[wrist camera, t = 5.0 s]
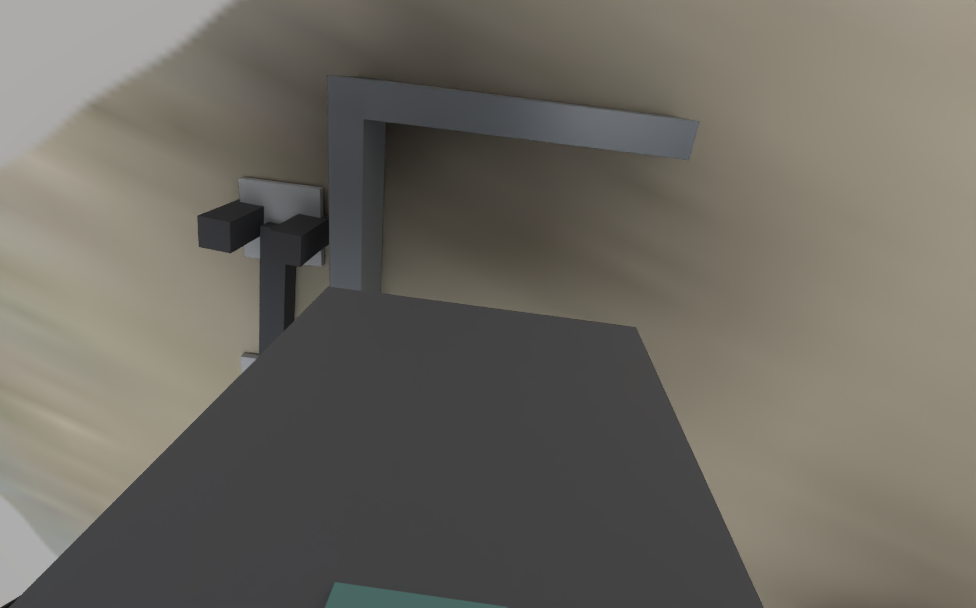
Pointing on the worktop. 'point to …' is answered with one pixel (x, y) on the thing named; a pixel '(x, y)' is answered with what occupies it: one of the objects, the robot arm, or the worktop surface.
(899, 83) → the worktop surface
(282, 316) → the clip
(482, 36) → the worktop surface
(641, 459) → the block
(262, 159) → the worktop surface
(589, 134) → the holder
